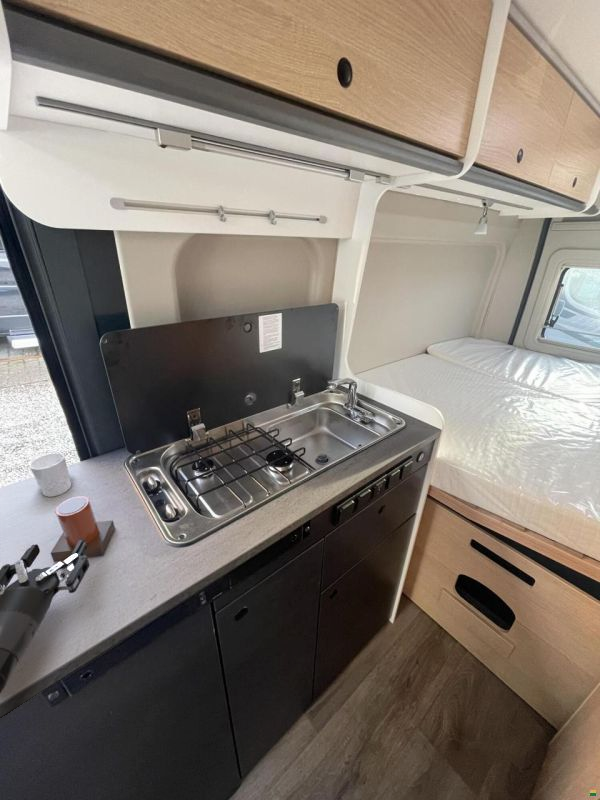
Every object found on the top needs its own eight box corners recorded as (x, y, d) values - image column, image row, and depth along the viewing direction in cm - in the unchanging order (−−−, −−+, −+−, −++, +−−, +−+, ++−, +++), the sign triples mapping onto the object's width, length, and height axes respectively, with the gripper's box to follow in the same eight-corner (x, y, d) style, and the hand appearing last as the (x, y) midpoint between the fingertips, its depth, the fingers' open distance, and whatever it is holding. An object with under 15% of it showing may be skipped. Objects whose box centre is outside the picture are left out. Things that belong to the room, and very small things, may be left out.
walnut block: (55, 565, 72) (50, 553, 70) (72, 537, 79) (67, 525, 78) (104, 559, 74) (100, 547, 72) (116, 532, 81) (112, 520, 79)
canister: (61, 548, 72) (49, 517, 68) (74, 527, 77) (63, 496, 73) (92, 544, 73) (81, 513, 69) (103, 523, 78) (93, 494, 74)
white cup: (39, 502, 90) (27, 472, 86) (42, 485, 96) (31, 457, 92) (73, 492, 94) (63, 464, 89) (74, 477, 100) (64, 449, 96)
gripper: (51, 606, 51) (93, 527, 65) (-54, 621, 49) (14, 535, 63) (65, 635, 54) (102, 553, 69) (-33, 650, 52) (27, 562, 66)
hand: (60, 544), depth 66 cm, fingers open, 8 cm apart
